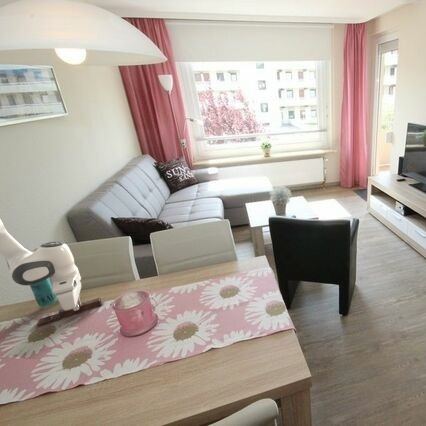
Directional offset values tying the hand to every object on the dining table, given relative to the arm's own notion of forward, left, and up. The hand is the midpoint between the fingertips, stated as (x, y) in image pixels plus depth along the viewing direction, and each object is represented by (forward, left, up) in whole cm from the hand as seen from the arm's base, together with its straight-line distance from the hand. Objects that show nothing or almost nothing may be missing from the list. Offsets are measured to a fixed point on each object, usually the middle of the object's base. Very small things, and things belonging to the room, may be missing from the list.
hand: (77, 307), depth 123 cm
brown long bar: (-2, 0, -2) cm, 3 cm away
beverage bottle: (-12, +14, -2) cm, 19 cm away
